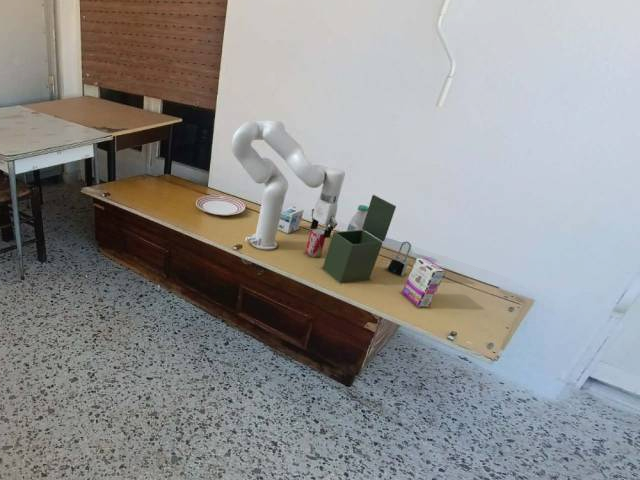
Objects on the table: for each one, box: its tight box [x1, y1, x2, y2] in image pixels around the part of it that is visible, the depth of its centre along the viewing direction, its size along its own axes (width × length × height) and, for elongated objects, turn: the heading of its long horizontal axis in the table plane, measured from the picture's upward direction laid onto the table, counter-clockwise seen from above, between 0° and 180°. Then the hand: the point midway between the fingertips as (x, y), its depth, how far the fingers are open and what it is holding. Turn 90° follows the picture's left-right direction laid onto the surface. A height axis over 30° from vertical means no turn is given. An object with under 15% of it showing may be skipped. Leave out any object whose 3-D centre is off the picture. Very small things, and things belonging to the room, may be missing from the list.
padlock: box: [386, 241, 412, 277], centre depth 199 cm, size 7×4×15 cm, turn 37°
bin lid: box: [362, 194, 397, 243], centre depth 188 cm, size 15×13×1 cm
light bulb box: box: [277, 205, 304, 234], centre depth 235 cm, size 11×7×11 cm, turn 129°
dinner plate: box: [195, 194, 246, 217], centre depth 257 cm, size 28×27×3 cm
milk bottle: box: [346, 204, 369, 232], centre depth 220 cm, size 8×8×20 cm
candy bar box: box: [401, 257, 446, 308], centre depth 180 cm, size 11×5×16 cm, turn 5°
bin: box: [322, 230, 384, 284], centre depth 195 cm, size 15×13×18 cm
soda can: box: [304, 228, 326, 258], centre depth 211 cm, size 7×7×12 cm
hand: (319, 233), depth 208 cm, fingers open, 9 cm apart
